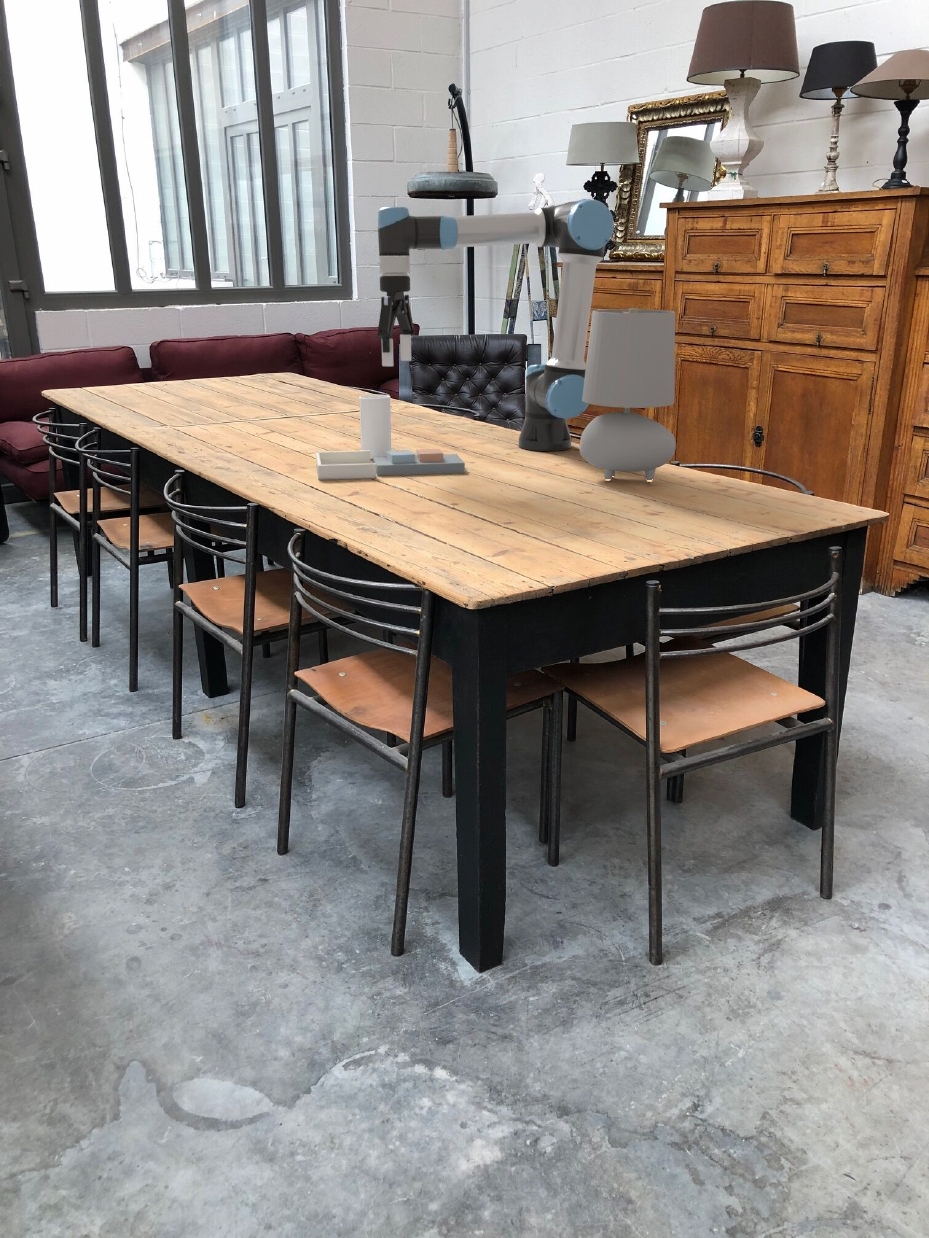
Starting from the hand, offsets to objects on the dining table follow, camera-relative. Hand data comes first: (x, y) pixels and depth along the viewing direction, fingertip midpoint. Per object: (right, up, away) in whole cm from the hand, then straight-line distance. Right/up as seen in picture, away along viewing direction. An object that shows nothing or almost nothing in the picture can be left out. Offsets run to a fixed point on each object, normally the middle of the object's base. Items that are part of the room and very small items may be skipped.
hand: (397, 363), depth 245 cm
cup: (-7, -21, +17) cm, 28 cm away
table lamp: (+56, -32, -11) cm, 65 cm away
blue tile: (+1, -25, -1) cm, 25 cm away
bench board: (+5, -27, +1) cm, 27 cm away
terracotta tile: (+8, -24, 0) cm, 26 cm away
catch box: (-13, -28, -2) cm, 31 cm away
